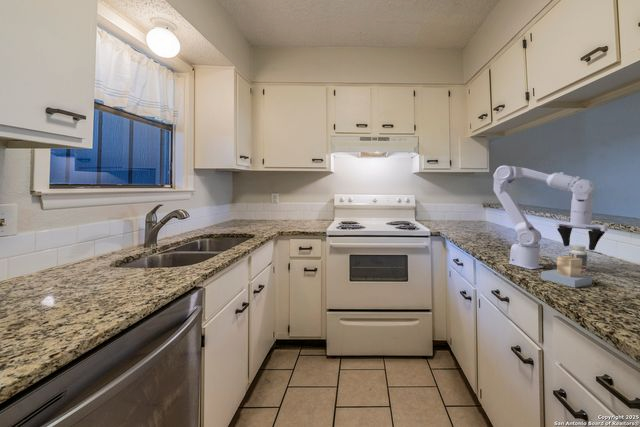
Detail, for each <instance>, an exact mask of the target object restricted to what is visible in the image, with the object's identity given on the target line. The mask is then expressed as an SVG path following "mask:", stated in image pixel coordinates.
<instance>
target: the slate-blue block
mask: <svg viewBox="0 0 640 427" xmlns="http://www.w3.org/2000/svg"><path fill="white" fill-rule="evenodd" d="M540 274H541V275H540V279H541V280H545V281H548V282H552V283H556V284H560V285H562V286H563V285H564V286H566V285H567V286H566V287H570V286H571V287H570V288H573V287H574V288H575V289H576V288H580V287H584V286H588V285H592V284H593V276H590V275H586V274H583V273H581V276H576V277H568V276H565V275H562V274H558V273H557V268H555V269H550V270H544V271H541V272H540Z"/></svg>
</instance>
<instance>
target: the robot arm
mask: <svg viewBox="0 0 640 427" xmlns="http://www.w3.org/2000/svg"><path fill="white" fill-rule="evenodd" d="M492 176H493V193H494V194H495V195H496V197H497V199H498V201H499V202H500V203H501V205H502V207H503V209H504V210H505V212H506V214H507V216H508V217H509V219H510V220H511V222H512V223H513V225H514V228H515V233H516V234H517V241H518V243H513V244H512V245H511V248H510V251H509V252H510V253H509V262H508V264H509V265H513V266H517V267H519V268H520V267H521V268H524V269H528V270H536V269H543V268H544V265H540V264H539V263H540V250H541V245H540V244H539V242H540V241H541V239H542V233H541V231H540V230H538V229H536V228H535V227H534V225H533V224H532V223H531V222H530V221H529V220H528V219H527V217H526V215H525V214H524V212H523V210H522V209H521V208H520V206H519V204H518V203H517V201H516V200H515V198H514V196H513V195H512V192H511V191H510V190H509V189H510V186H511V185H512V184H513V182H514V181H515V180H516V179H520V178H529V179H532V180H537V181H540V182H545V183H546V184H547V185H548V187H550V188H554V189H557V190H561V191H565V192H572V196H571V197H572V199H571V200H570V201H571V205H570V206H571V207H570V217H569V218H570V221H555V227H557V229H556V230H557V231H558V233H559V235H560V236H561V239H562V244H563V246H564V247H569V246H570V244H571V243H570V242H571V234H572V231H573V229H579V230H588V231H587V233H588V239H589V242H588V243H589V244H588V250H589V251H595V250H596V247H597V245H598V242H599V241H600V239H601V238H602V237H603V235H605V233H606V232H608V229H609V228H608V227H609V226H608V225H607V224H606V225H603V224H598V223H597V224H595V223H592V217H593V216H592V215H593V205H594V204H593V203H594V199H593V197H594V195H593V191H594V189H595V184H594V182H593V181H592V180H589V179H586V178H584V179H581V176H573V175H568V174H565V172H562V171H560V172H553V173H551V174H548V173H545V172H542V171H538V170H535V169H534V170H533V169H530V168H526V167H521V166H520V167H519V166H513V165H511V166H509V165H500V166H498V167H497V168H496V170H495V172H494V173H493V175H492Z"/></svg>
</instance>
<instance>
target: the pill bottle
mask: <svg viewBox="0 0 640 427" xmlns="http://www.w3.org/2000/svg"><path fill="white" fill-rule="evenodd" d="M568 256H571V257H575V258H580V259H582V268H581V272H585V271H586V270H587V266H588V265H587V264H588V263H587V262H588V252H587V251H586V245H582V244H572V245H571V249H570V250H569V251H568Z"/></svg>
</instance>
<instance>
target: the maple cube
mask: <svg viewBox="0 0 640 427" xmlns="http://www.w3.org/2000/svg"><path fill="white" fill-rule="evenodd" d="M556 261H557V262H556V263H557V264H556V269H557V273H558V274H562V275H565V276H568V277H576V276H581V274H582V271H581V268H582V259H580V258H575V257H571V256H569V255H563V256H562V255H561V256H557V260H556Z"/></svg>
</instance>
